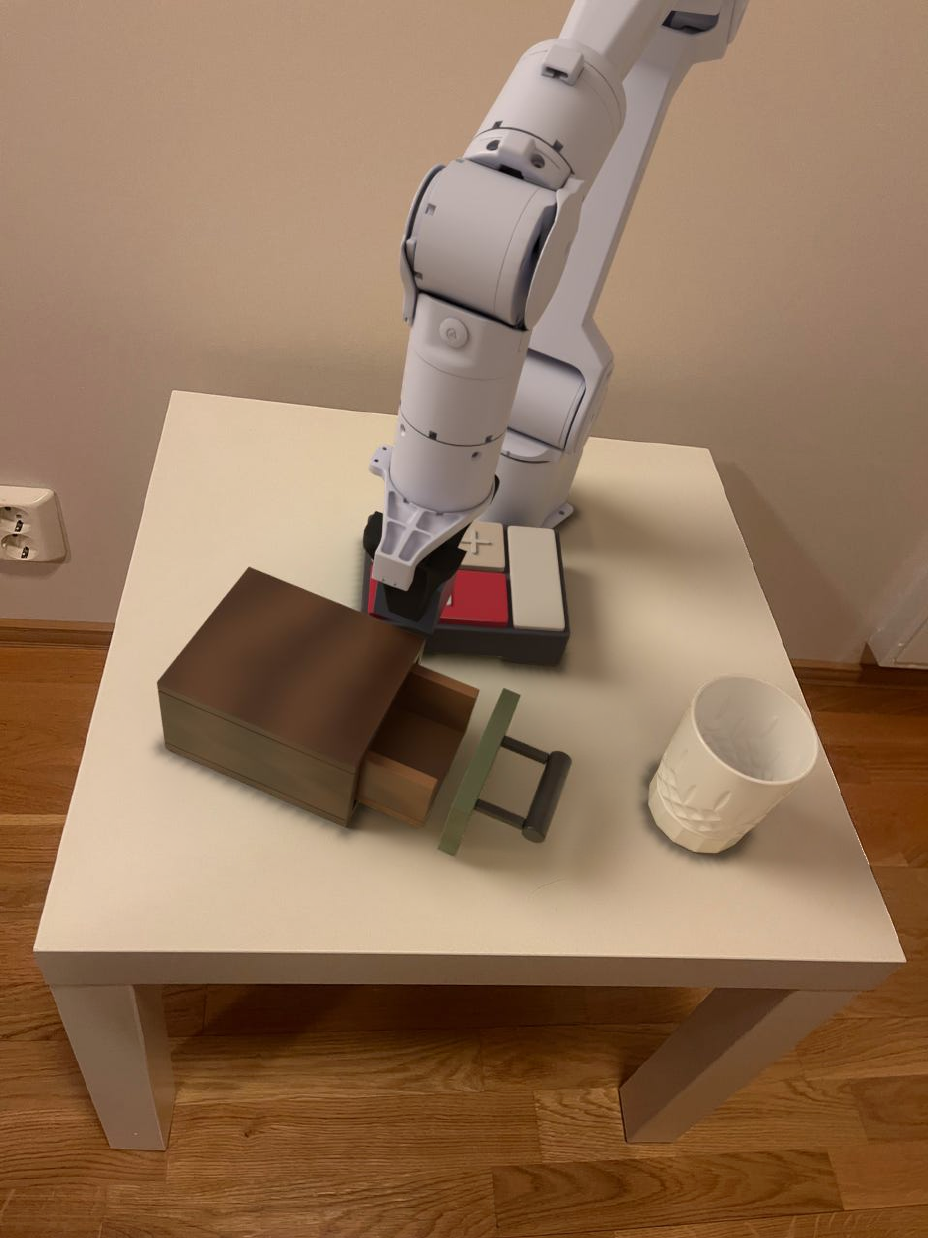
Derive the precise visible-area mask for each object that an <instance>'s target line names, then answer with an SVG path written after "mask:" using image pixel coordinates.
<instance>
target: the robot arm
mask: <svg viewBox="0 0 928 1238" xmlns="http://www.w3.org/2000/svg"><path fill="white" fill-rule="evenodd" d="M749 3H750V0H574V2H573V3H572V6H571V8H570V10H569V13H568V15H567V17H566V19H565V21H564V24H563V26H562V29H561V31H560V33H559V35H558V37H557V38H550V39H544V40H541V41H539V42H537V43H535V44H533V45H532V46H531V47H529V48H528V49H527V50H526V51H525V52H524V53H523V54H522V55H521V57H520V58H519V60H518V61H517V63H516V65H515V67H514V69H513V70H512V72H511V73H510V75H509V76H508V78H507V80H506V82H505V84H504V85H503V87H502V89H501V90H500V93H499V94H498V96H497V98H496V99H495V101H494V102H493V104H492V106H491V108H490V109H489V111H488V113H487V114H486V116H485V117H484V120H483V121H482V123H481V125H480V126H479V128H478V130H477V132H476V133H475V135H474V136H473V138H472V140H471V141H470V144H469V145H468V146H467V148H466V150H465V152H464V153H463V156H462V157H460V156H458V157H456V158H455V159H456V160H455V159H452V160H451V161H450V162H449V163H448V164H447V166H446V165H445V164H444V163H437V164H435V165H433V166H432V167H431V168H430V169H429V170H428V171H427V173H426V174H425V175H424V177H423V179H422V180H421V182H420V184H419V186H418V187H417V189H416V192H415V193H414V197H413V199H412V202H411V205H410V208H409V210H408V214H407V218H406V222H405V226H404V231H403V236H402V239H401V242H400V246H399V254H398V255H399V256H398V259H399V260H398V267H399V276H400V280H401V283H402V285H403V303H402V311H401V316H402V317H403V318H402V319H403V322H405V323H406V324H407V326H409V327H410V330H409V337H408V342H407V343H408V345H407V350H406V357H405V362H404V363H405V364H404V370H403V376H402V384H401V389H400V390H401V391H400V398H399V404H398V411H397V418H396V425H395V431H394V438H393V445H389V444H381V445H379V446H378V447H376V449H375V450H374V452H373V454H372V455H371V456H370V458H369V464H368V471H369V472H370V473H371V474H372V475H374V476H377V477H379V478H381V479H382V480H383V483H384V484H383V485H384V488H383V505H382V506H383V507H382V508H383V509H382V512H381V511H377V510H375V511H374V512H373V513H372V514H373V516H372V517H371V519H370V520H369V522H368V521H367V522H368V523H367V522H366V525H365V527H364V529H363V533H362V534H363V535H362V547H363V549H364V550H366V552H367V553H368V554H369V555H370V556H371V558H372V559H373V561H374V564H373V571H372V578H373V579H375V580H378V581H380V582H382V583H383V588H384V593H385V599H386V603H387V607H388V611H389V612H391V613H393V614H396V615H399V616H401V617H404V618H407V619H409V620H412V621H415V622H419V621H420V619H421V618H422V617H423V615H424V614H425V612H426V610H427V608H428V606H429V604H430V602H431V600H432V598H433V596H434V594H435V591H436V590H437V589H438V588H439V586H440V585H442V584H443V583H444V582H446V581H448V580H450V579H451V578H452V576H453V575H454V574H455V573H456V572H457V570H458V569H459V567H460V565H461V563H462V561H463V559H464V557H465V555H466V553H467V551H466V550H463V549H460V548H458V547H459V545H460V542H461V540H462V538H463V536H464V534H465V532H466V531H467V529H468V528H469V526H470V525H471V523H472V522H473V521H480V522H492V523H500V524H503V525H515V526H528V527H540V528H552V529H555V527H557V526H558V525H559V524H560V523H562V522H563V521H564V520H566V519H567V518H568V517H570V516H571V515H572V514H573V512H574V507H573V506H572V505H571V504H570V503H568V501H567V499H568V497H569V494H570V491H571V488H572V485H573V482H574V479H575V477H576V474H577V471H578V468H579V465H580V462H581V459H582V458H583V453H584V447H585V446H586V445H587V442H588V440H589V438H590V436H591V434H592V432H593V430H594V428H595V425H596V422H597V421H598V418H599V415H600V413H601V411H602V407H603V405H604V402H605V399H606V396H607V394H608V391H609V390H608V389H609V383H610V380H611V377H612V374H613V372H614V369H615V362H614V361H615V355H614V352H613V350H612V348H611V346H610V345H609V343H608V341H607V340H606V339H605V337H604V334H603V333H602V332H601V331H600V329H599V327H598V325H597V323H596V321H595V320H594V314H595V312H596V309H597V306H598V303H599V300H600V298H601V295H602V292H603V289H604V286H605V284H606V282H607V279H608V275H609V273H610V270H611V268H612V265H613V261H614V259H615V257H616V254H617V251H618V248H619V245H620V242H621V240H622V238H623V235H624V231H625V229H626V226H627V224H628V221H629V217H630V215H631V212H632V211H633V210H632V209H633V207H634V204H635V201H636V198H637V195H638V193H639V190H640V188H641V184H642V181H643V179H644V176H645V174H646V171H647V168H648V165H649V164H650V163H649V162H650V160H651V157H652V154H653V151H654V148H655V146H656V143H657V141H658V138H659V135H660V132H661V131H662V130H661V129H662V126H663V124H664V122H665V119H666V117H667V113H668V111H669V107H670V105H671V102H672V100H673V98H674V96H675V94H676V93H677V91H678V89H679V87H680V86H681V84H682V82H683V81H684V79H685V78H686V76H687V75H688V73H689V72H690V70H691V68H692V67H693V65H696V64H701V63H707V62H710V61H717V60H722V59H723V58H724V57H725V55H726V52H727V49H728V47H729V45H730V44H732V43H733V42H734V40H735V39H736V36H737V34H738V31H739V29H740V26H741V24H742V22H743V18H744V16H745V13H746V11H747V9H748V6H749Z"/></svg>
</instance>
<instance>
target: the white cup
mask: <svg viewBox="0 0 928 1238" xmlns="http://www.w3.org/2000/svg"><path fill="white" fill-rule="evenodd" d="M819 755H820V740H819V735H818V732H817V729H816V726H815V724H814V723H813V720H812V719H811V717H810V716H809V713H808V712H807V711H806V710H805V708H804V707H803V706H802V705H801V704H800V703H799V702H798V700H796V699H795V698H794V697H793V696H792V695H791V694H790V693H788V692H787V691H785V690H784V689H782V688H781V687H779V686H777V685H776V684H774V683H772V682H770V681H768V680H766V679H763V678H760V677H757V676H753V675H749V674H743V673H725V674H720V675H717V676H714V677H712V678H710V679H708V680H706V681H705V682H704V683H702V684H701V685H700V687H698V689H697V691H696V692H695V693H694V696H693V698H692V699H691V702H690V703H689V705H688V707H687V709H686V711H685V712H684V714H683V716H682V718H681V720H680V721H679V723H678V725H677V727H676V729H675V731H674V732H673V734H672V737H671V739H670V741H669V743H668V745H667V748H666V749H665V751H664V753H663V755H662V758H661V761H660V763H659V766H658V769H657V771H656V772H655V774H654V775H653V778H652V779H651V781H650V783H649V785H648V786H649V787H648V797H647V798H648V801H647V805H648V808H649V811H650V813H651V815H652V818H653V820H654V822H655V824H656V826H657V827H658V828H659V829H660V830H661V832H663V834H664V835H666V836H667V838H668V839H670V840H671V841H672V842H673V843H675V844H677V845H679V846H681V847H683V848H684V849H687V850H689V851H691V852H694V853H705V854H718V853H720V852H723V851H725V850H727V849H729V848H731V847H734V846H735V845H736V844H737V843H738V842H739V841H740V840H741V839H742V838H743V837H744V836H745V835H746V834H747V833H748V832H749V831H750V830H752V829H753V828H755V827H756V826H757V825H758V824H760V822H761V821H762V820H763V819H764V818H765V817H766V816H768V815H769V814H770V813H771V812H773V810H774V809H775V808H776V807H777V806H778V805H779V804H780V803H781V802H782V801H783V800H784V799H785V798H786V797H787V796H788V795H790V793H791V792H792V791H793V790H794V789H795V788H796V787H798V785H800V783H801V782H802V781H803V780H805V778H806V777H808V775H810V773H811V772H812V771H813V770H814V768H815V766H816V764H817V762H818V761H819V757H820V756H819Z"/></svg>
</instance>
